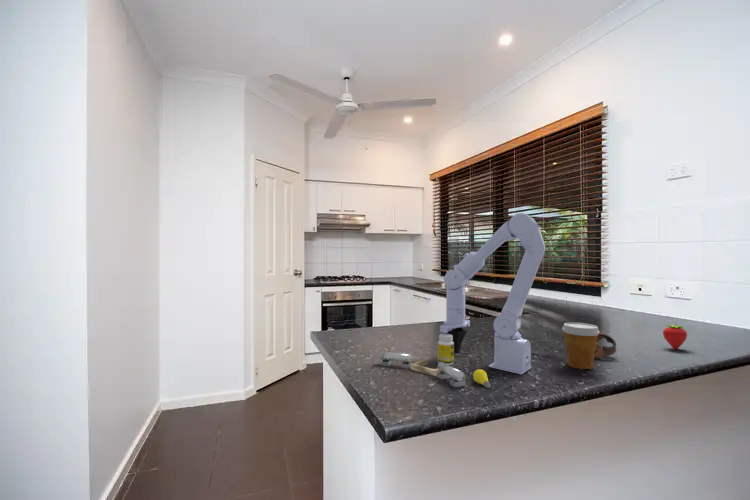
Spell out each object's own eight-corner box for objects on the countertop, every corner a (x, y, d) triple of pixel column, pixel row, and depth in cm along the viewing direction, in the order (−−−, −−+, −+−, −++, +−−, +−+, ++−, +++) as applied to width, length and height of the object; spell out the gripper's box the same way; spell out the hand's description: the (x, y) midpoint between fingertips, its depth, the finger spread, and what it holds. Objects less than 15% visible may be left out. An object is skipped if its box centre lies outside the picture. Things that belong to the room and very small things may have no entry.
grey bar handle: (412, 365, 104) (412, 353, 104) (410, 368, 101) (410, 356, 101) (382, 362, 107) (382, 350, 107) (379, 365, 104) (379, 353, 104)
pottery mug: (609, 353, 120) (618, 335, 116) (610, 373, 113) (620, 354, 109) (570, 340, 125) (577, 323, 121) (568, 358, 117) (576, 340, 113)
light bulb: (479, 379, 93) (484, 367, 92) (491, 394, 87) (497, 382, 87) (468, 376, 92) (474, 365, 91) (480, 391, 86) (486, 379, 86)
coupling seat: (448, 370, 100) (448, 365, 100) (434, 376, 95) (435, 370, 95) (424, 363, 106) (425, 359, 106) (410, 369, 101) (410, 364, 101)
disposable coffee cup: (602, 366, 105) (602, 325, 105) (595, 374, 98) (595, 330, 98) (566, 359, 111) (566, 321, 111) (557, 366, 104) (558, 325, 104)
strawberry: (657, 347, 126) (657, 319, 127) (673, 346, 128) (673, 318, 128) (675, 352, 121) (675, 322, 121) (692, 350, 123) (692, 321, 123)
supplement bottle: (453, 366, 104) (454, 337, 104) (437, 365, 105) (437, 336, 105) (453, 361, 108) (453, 333, 108) (437, 360, 109) (438, 332, 109)
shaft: (436, 376, 95) (436, 362, 95) (446, 374, 96) (446, 361, 96) (455, 388, 87) (456, 373, 87) (466, 386, 88) (466, 371, 88)
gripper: (456, 304, 119) (456, 345, 119) (431, 309, 108) (431, 354, 108) (475, 307, 114) (475, 349, 114) (452, 312, 103) (451, 359, 103)
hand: (455, 352), depth 111 cm, fingers closed
